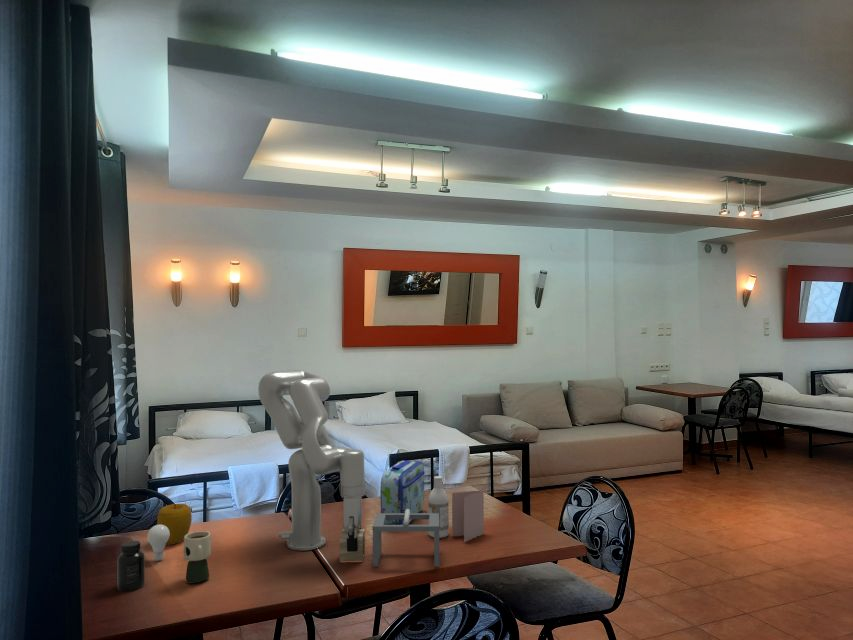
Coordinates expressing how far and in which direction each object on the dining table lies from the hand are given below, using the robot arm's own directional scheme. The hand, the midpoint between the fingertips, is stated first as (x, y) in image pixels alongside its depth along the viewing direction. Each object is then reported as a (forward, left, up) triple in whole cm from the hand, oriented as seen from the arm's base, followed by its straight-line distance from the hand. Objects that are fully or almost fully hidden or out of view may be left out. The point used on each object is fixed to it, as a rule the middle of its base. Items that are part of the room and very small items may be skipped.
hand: (354, 545), depth 187 cm
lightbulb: (-61, -1, -4) cm, 61 cm away
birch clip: (-1, +1, -4) cm, 4 cm away
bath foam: (+26, +22, -4) cm, 35 cm away
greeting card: (+37, +19, -4) cm, 42 cm away
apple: (-63, +15, -4) cm, 65 cm away
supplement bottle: (-60, -20, -4) cm, 63 cm away
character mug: (-43, -16, -4) cm, 46 cm away
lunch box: (+13, +40, -4) cm, 42 cm away
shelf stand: (+16, +1, -4) cm, 17 cm away
